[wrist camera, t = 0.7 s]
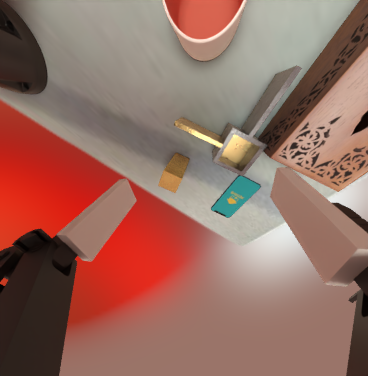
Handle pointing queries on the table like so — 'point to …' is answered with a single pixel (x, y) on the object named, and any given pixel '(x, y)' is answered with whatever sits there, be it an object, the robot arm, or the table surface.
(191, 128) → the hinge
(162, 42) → the table surface
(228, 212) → the smartphone
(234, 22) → the cup
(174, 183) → the pin
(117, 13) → the table surface
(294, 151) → the tissue box cover
